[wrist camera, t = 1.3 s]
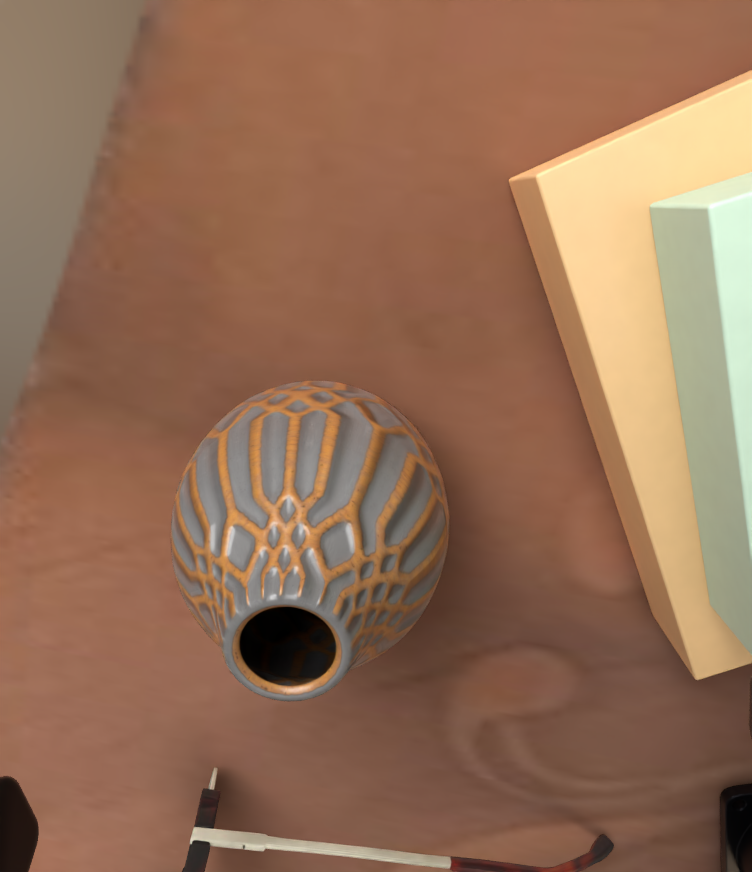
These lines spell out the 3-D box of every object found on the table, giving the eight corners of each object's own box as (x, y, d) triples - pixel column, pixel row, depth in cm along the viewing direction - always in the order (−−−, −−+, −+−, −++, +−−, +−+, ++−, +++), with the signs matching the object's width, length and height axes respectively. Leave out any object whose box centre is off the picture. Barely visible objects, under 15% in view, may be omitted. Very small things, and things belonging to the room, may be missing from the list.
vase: (191, 371, 19) (44, 505, 11) (423, 341, 18) (458, 454, 10) (239, 572, 21) (150, 808, 13) (446, 548, 21) (490, 775, 13)
